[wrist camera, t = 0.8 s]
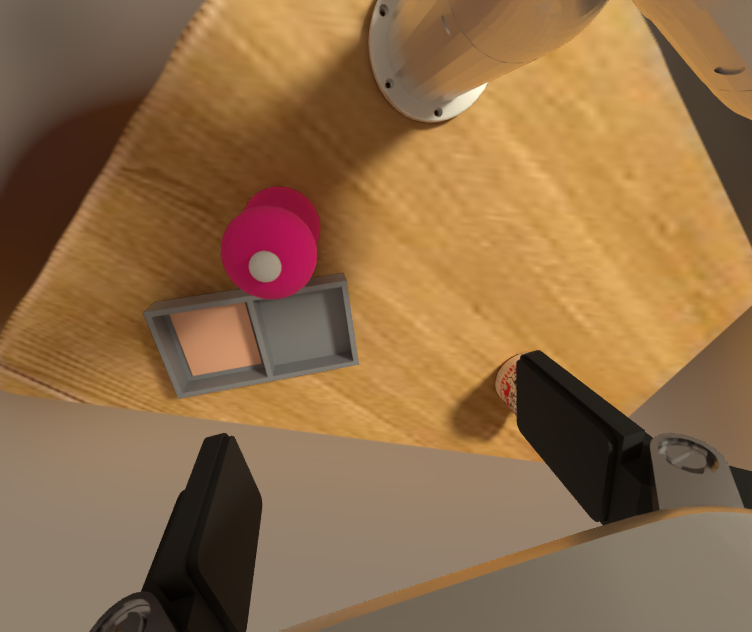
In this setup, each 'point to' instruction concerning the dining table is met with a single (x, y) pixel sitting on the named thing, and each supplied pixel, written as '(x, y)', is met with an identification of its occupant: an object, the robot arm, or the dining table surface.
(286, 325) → the tray
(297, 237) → the pepper mill
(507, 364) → the teacup with lid
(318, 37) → the dining table surface
